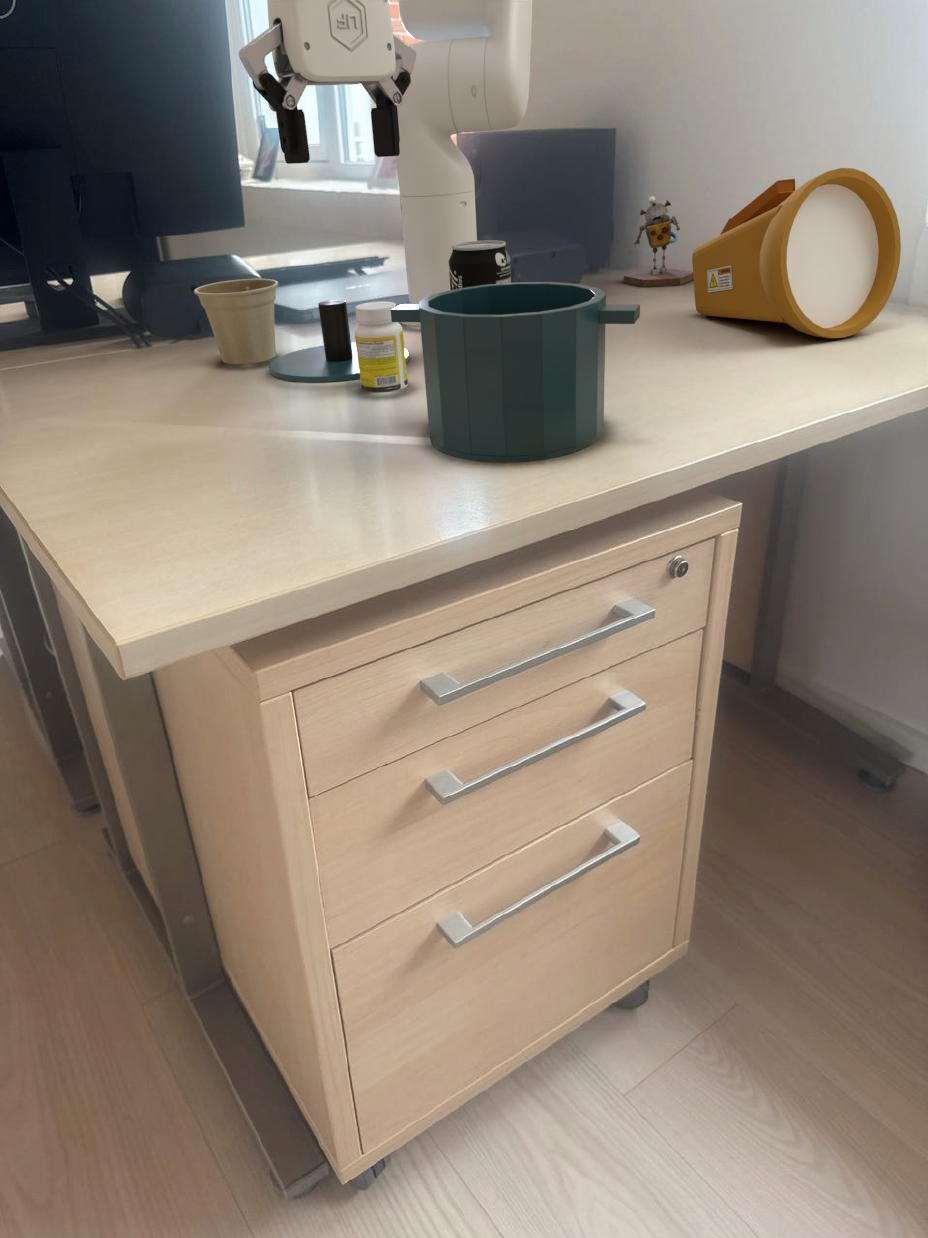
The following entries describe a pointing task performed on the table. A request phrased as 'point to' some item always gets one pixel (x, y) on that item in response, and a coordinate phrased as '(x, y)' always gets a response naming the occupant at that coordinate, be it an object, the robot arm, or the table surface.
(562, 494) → the table surface
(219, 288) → the flower pot
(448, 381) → the pot
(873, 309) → the flared yellow plastic housing
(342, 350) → the lid
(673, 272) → the robot figurine
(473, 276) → the beverage can
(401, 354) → the supplement bottle
